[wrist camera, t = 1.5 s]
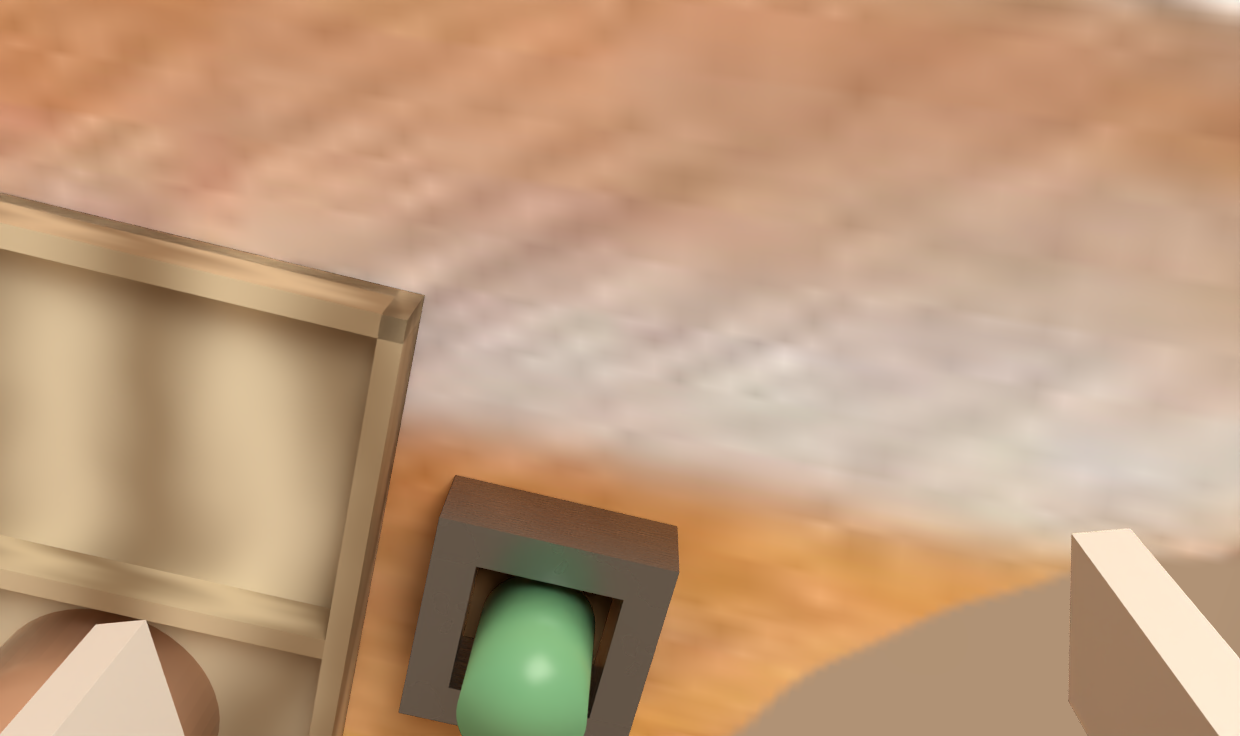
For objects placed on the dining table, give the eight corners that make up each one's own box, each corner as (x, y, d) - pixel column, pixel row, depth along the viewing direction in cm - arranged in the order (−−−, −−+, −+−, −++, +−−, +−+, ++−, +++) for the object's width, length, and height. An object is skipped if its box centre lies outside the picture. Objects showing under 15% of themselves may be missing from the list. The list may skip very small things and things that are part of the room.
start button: (471, 656, 37) (445, 754, 33) (493, 561, 36) (469, 650, 31) (580, 680, 38) (570, 781, 33) (606, 587, 36) (600, 679, 32)
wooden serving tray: (-114, 773, 42) (-160, 822, 40) (-119, 163, 33) (-180, 179, 31) (318, 863, 43) (298, 916, 41) (424, 295, 34) (407, 320, 32)
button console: (416, 659, 40) (398, 712, 37) (455, 475, 37) (439, 517, 34) (623, 705, 40) (620, 760, 37) (677, 526, 37) (679, 572, 34)
